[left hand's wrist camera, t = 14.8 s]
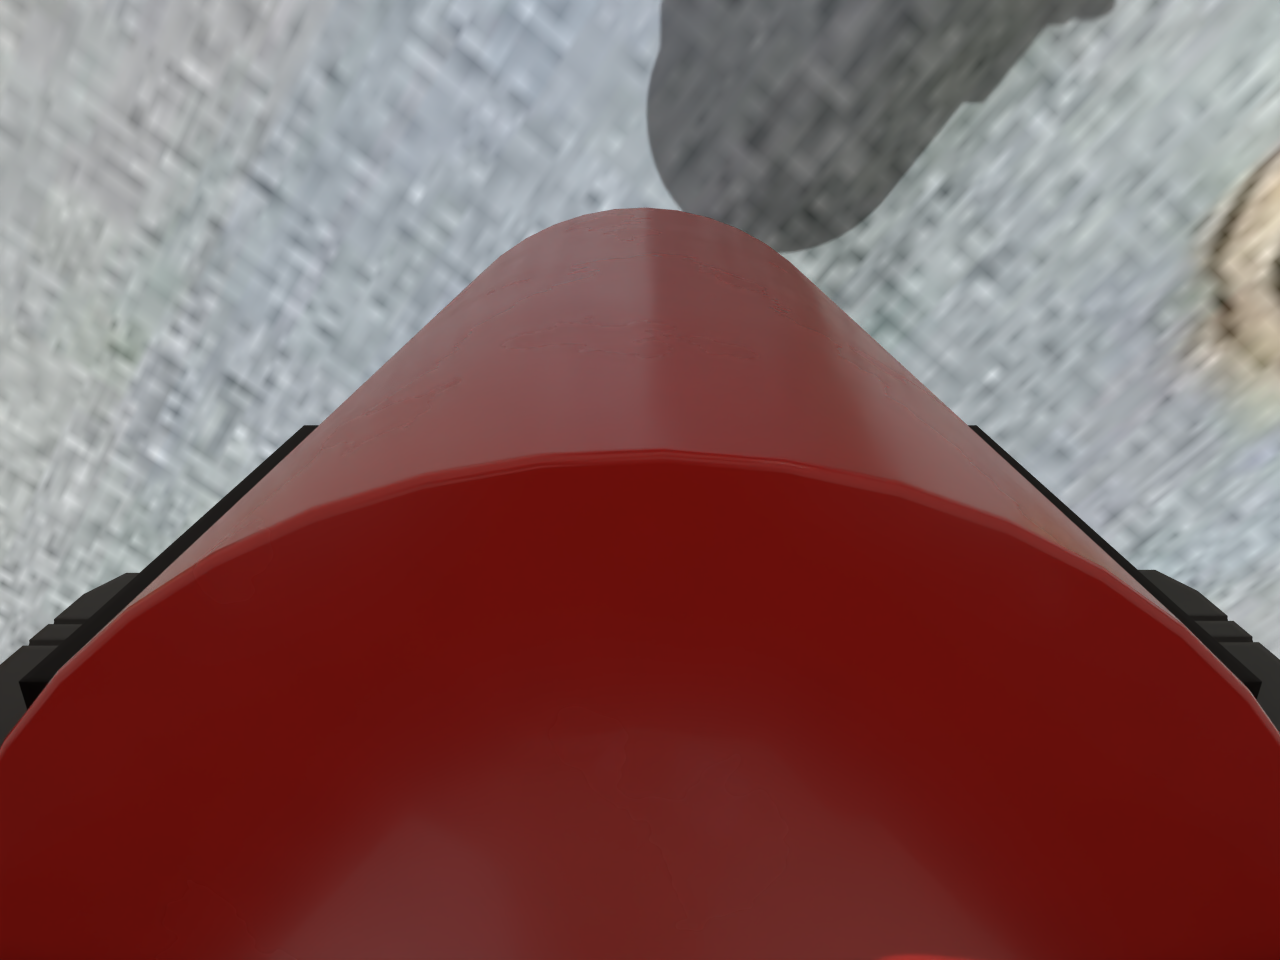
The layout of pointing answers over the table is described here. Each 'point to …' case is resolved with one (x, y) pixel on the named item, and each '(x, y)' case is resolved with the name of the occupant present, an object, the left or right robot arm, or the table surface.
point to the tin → (642, 669)
